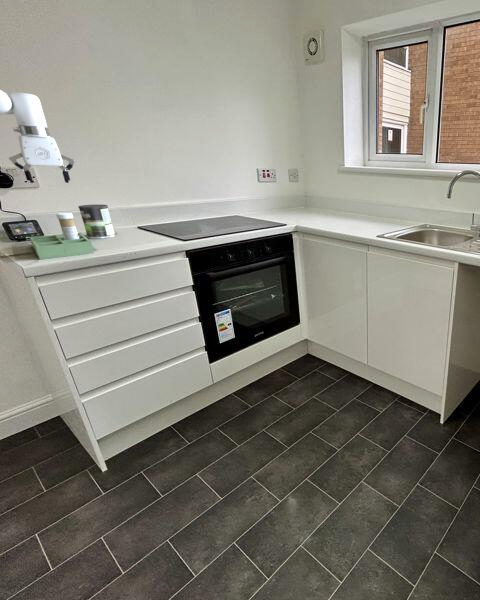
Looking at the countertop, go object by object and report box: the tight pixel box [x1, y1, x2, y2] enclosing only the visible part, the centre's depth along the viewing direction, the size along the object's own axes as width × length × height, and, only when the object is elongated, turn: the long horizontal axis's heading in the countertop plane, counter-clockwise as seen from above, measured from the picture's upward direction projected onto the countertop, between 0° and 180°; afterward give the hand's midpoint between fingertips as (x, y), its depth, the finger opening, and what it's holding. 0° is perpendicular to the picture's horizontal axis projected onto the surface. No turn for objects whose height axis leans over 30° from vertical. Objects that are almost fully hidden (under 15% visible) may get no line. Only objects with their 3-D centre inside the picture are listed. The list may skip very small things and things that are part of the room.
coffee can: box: [77, 204, 116, 240], centre depth 161 cm, size 10×10×14 cm
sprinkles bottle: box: [56, 212, 79, 240], centre depth 138 cm, size 5×5×14 cm
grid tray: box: [29, 232, 95, 260], centre depth 138 cm, size 15×23×5 cm
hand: (49, 182), depth 131 cm, fingers open, 9 cm apart
